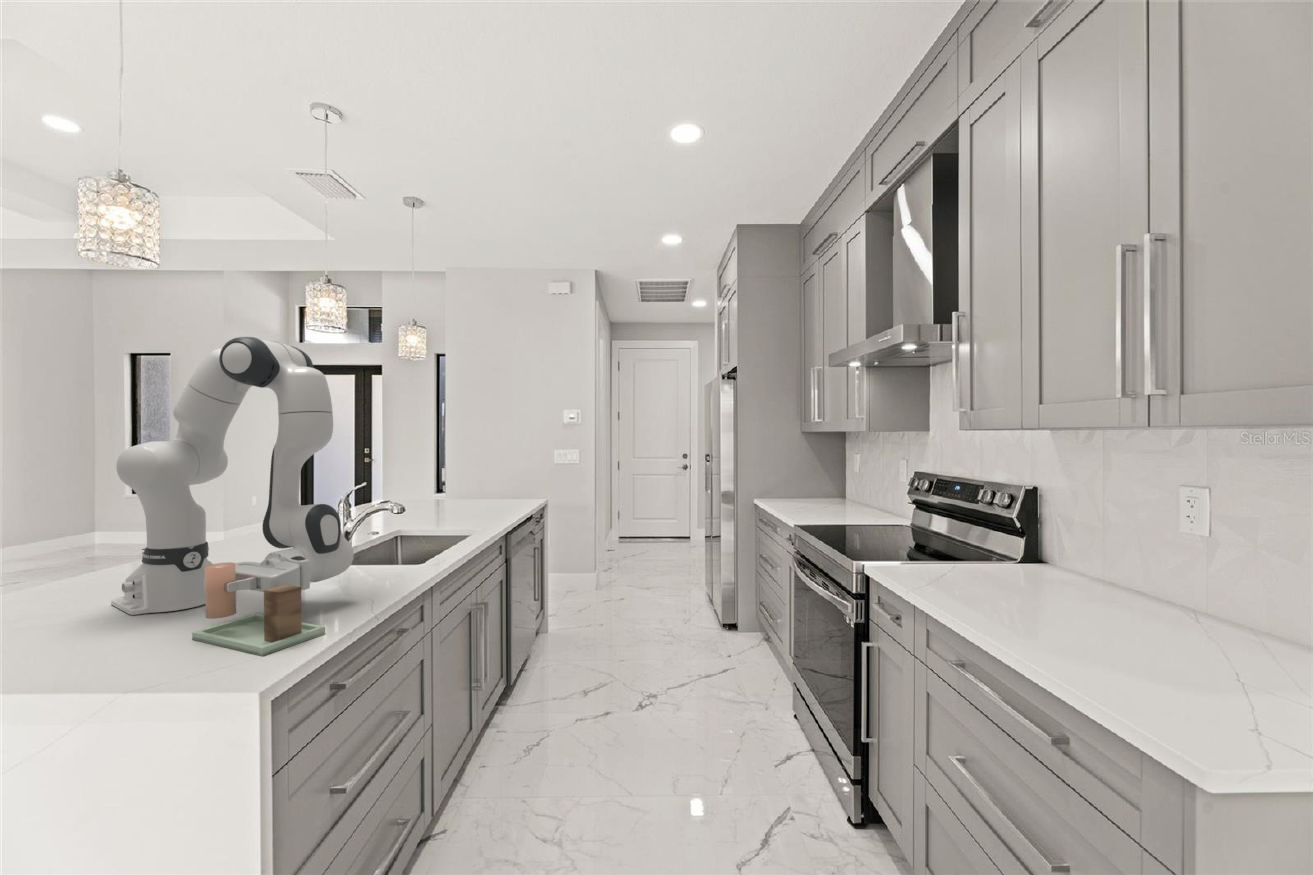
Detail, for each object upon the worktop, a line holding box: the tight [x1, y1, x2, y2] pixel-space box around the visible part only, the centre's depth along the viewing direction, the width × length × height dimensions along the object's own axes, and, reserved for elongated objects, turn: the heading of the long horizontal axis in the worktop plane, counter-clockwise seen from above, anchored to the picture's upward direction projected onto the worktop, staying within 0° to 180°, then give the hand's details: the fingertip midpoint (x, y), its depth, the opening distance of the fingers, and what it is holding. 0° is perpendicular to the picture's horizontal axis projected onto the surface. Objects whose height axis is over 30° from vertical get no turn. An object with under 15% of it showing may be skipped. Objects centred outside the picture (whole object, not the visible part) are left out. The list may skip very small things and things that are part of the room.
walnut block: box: [263, 585, 303, 643], centre depth 119 cm, size 4×4×10 cm
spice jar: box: [204, 561, 237, 620], centre depth 122 cm, size 5×5×10 cm
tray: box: [191, 613, 326, 657], centre depth 122 cm, size 21×13×2 cm, turn 67°
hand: (216, 586), depth 121 cm, fingers closed on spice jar, 5 cm apart
